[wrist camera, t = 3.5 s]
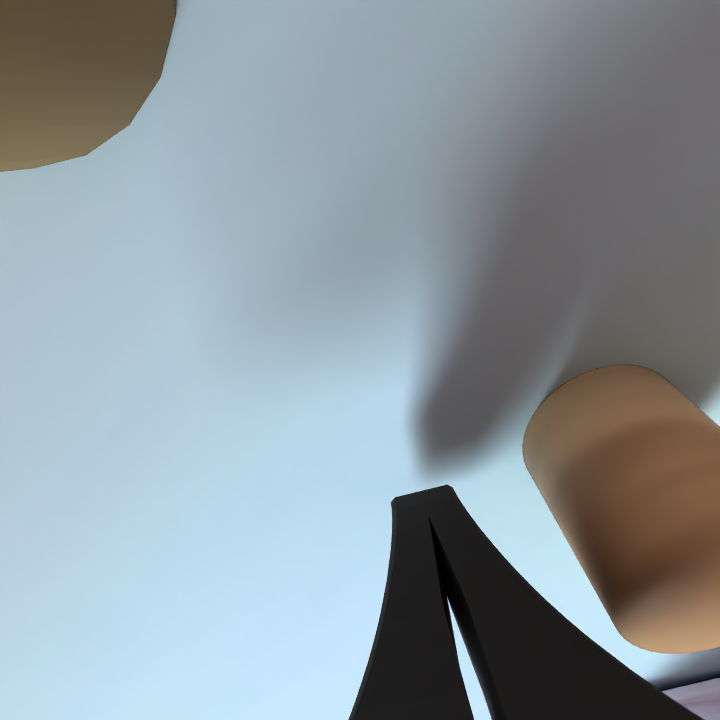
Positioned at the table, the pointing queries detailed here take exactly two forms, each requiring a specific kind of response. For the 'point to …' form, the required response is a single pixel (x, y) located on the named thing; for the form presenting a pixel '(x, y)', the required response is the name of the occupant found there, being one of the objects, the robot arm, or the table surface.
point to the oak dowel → (636, 501)
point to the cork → (75, 73)
